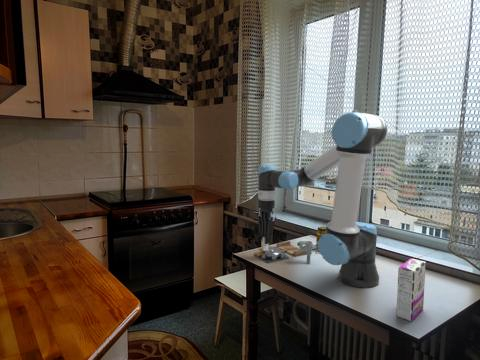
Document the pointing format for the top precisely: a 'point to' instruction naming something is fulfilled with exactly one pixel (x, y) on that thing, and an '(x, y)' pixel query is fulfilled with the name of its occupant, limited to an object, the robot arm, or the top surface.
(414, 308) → the candy bar box
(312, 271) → the top surface
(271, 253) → the grey metal machine part
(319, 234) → the condiment
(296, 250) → the seat
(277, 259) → the base
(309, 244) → the mechanical component
